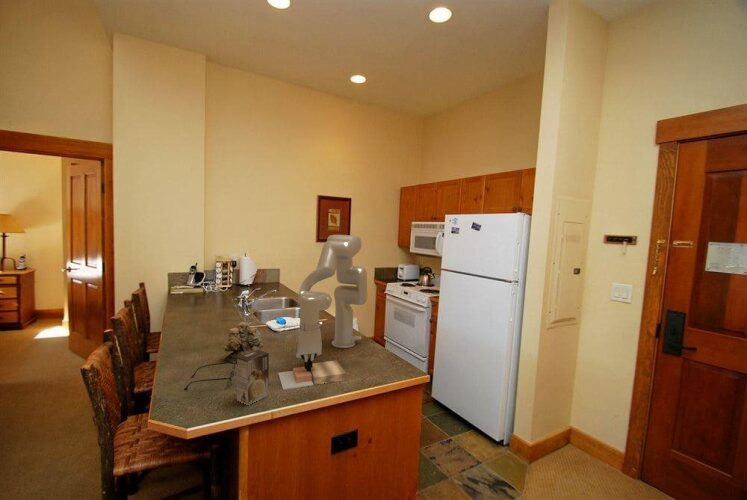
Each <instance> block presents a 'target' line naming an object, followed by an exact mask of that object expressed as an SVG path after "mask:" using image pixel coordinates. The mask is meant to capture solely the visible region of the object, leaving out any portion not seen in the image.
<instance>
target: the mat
mask: <svg viewBox="0 0 747 500" xmlns="http://www.w3.org/2000/svg"><path fill="white" fill-rule="evenodd" d="M278 378H279V381H280V384H281V387H282V390H283V391H288V390H289V391H290V390H295V389H302V387H303V388H308V386H309V387H314V386H315V385H314V383H313V381H308V382H301V383H296V381H295V378H294V375H293V370H290V371H289V370H288V371H282V372H278Z"/></svg>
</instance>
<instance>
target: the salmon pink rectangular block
mask: <svg viewBox="0 0 747 500" xmlns="http://www.w3.org/2000/svg"><path fill="white" fill-rule="evenodd" d="M292 371H293V375H294V378H295V381H296V383H301V382H308V381H312V375H311V373H310V371H307V370H306V369H305V367H304V366H299V367H292ZM312 382H313V381H312Z"/></svg>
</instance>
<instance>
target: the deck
mask: <svg viewBox="0 0 747 500" xmlns="http://www.w3.org/2000/svg"><path fill="white" fill-rule="evenodd" d="M310 373H311V375H312V382H313V384H314V386H317V384H319V385H324V383H325V384H331V382H332V383H336V382H337V383H338V382H343V381H344V382H345V381H347V372H346V371H345V370H344V369H343V367H342V366H341V364H340V363H339V362H338V360H329V361H323V362H322V361H319V362H313V364H312V368H311V371H310Z"/></svg>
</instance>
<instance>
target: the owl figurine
mask: <svg viewBox="0 0 747 500" xmlns="http://www.w3.org/2000/svg"><path fill="white" fill-rule="evenodd" d="M261 335H262V334H261V333H260V332H259V330H258V328H257V327H251V328H249V329H248V323H246V322H245V321H241V322H239V323H238V324H237V325H236V327H233V328H230V329H229V331H228V337H227V344H225V345H224V346H223V347H222V349H223V350H224V352H228V353H229V352H231V353H229V354H228V355H226V356H225V358H224V361H225V362H231V361H236V365H237V357H239V356H241V355H244V354H247V353H250V352H253V351H256V350H259V351H261V349H263V347H264V346H265V345H264V343H262V336H261ZM230 364H232V365H234V363H230Z"/></svg>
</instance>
